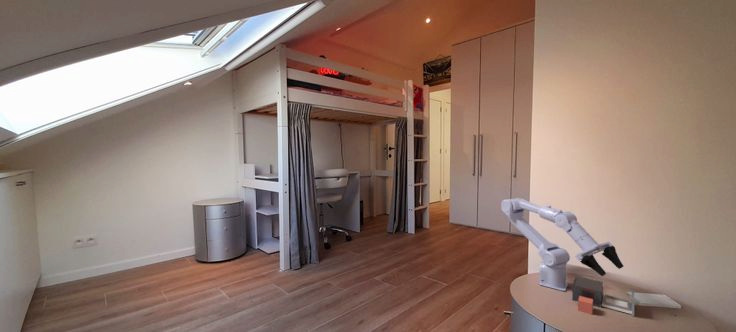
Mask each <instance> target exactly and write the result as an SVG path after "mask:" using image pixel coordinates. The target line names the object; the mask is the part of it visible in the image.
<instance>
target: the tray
mask: <svg viewBox="0 0 736 332" xmlns="http://www.w3.org/2000/svg"><path fill="white" fill-rule="evenodd" d="M631 292H632V298H631V297H630V299H631V300H630V299H625V298H621V297H617V296H614V295H609V294H604V295H603V298H602V300H601V307H604V308H607V309H611V310H614V311H618V312H623V313H627V314H629V315H631V316H635V303H636V301H635V298H634V292H635V289H634V288H631ZM630 301H631V302H630Z"/></svg>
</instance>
